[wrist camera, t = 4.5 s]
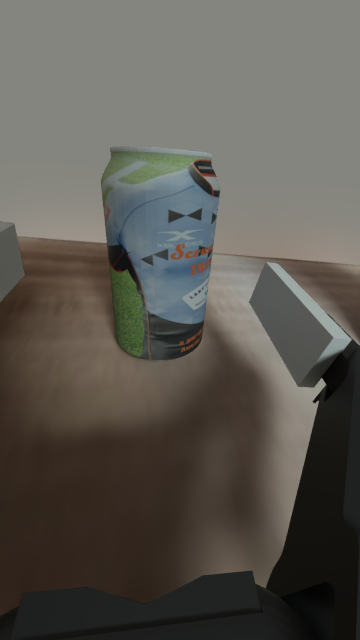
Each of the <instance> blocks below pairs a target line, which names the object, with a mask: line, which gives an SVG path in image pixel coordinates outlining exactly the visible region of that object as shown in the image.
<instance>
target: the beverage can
mask: <svg viewBox="0 0 360 640" xmlns="http://www.w3.org/2000/svg"><path fill="white" fill-rule="evenodd" d="M110 152H111V159H110V162H109V163H108V165H107V167H106V169H105V171H104V173H103V176H102V179H101V187H102V197H103V206H104V216H105V227H106V237H107V247H108V257H109V267H110V277H111V287H112V297H113V307H114V317H115V327H116V337H117V341H118V343H119V345H120V346H121V347H122V348H123V349H124V350H125V351H127V352H128V353H130V354H132V355H134V356H136V357H139V358H143V359H147V360H152V361H167V360H172V359H176V358H179V357H182V356H185V355H187V354H189V353H190V352H192V351H193V350H194V349H196V348H197V347H198V345H199V344H200V342H201V339H202V332H203V324H204V316H205V308H206V300H207V292H208V284H209V275H210V267H211V259H212V251H213V243H214V235H215V226H216V218H217V211H218V202H219V194H220V185H219V182H218V179H217V177H216V174H215V172H214V170H213V168H212V165H211V159H212V155H211V154H209V153H204V152H198V151H189V150H180V149H166V148H153V147H124V146H120V147H111V148H110Z"/></svg>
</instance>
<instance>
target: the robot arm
mask: <svg viewBox="0 0 360 640" xmlns="http://www.w3.org/2000/svg"><path fill="white" fill-rule="evenodd" d="M24 276H25V274H24V269H23V264H22V259H21V254H20V249H19V244H18V239H17V234H16V230H15V225H14V223H9V222H2V221H0V302H1V301H2V300H3V299H4V298H5V296H6V295H7V294H8V293H9V292H10V291H11V290H12V289H13V288H14V287H15V285H16V284H17V283H18V282H19V281H20V280H21V279H22V278H23V277H24ZM249 303H250V304H251V306H252V308H253V310H254V311H255V313H256V315H257V316H258V318H259V320H260V322H261V323H262V325H263V327H264V329H265V330H266V332H267V334H268V335H269V337H270V339H271V341H272V342H273V344H274V346H275V348H276V349H277V351H278V353H279V355H280V356H281V358H282V360H283V361H284V363H285V365H286V367H287V368H288V370H289V372H290V374H291V375H292V377H293V379H294V380H295V382H296V384H297V386H298V387H315V385H316V384H317V383H318V382H319V380H320V379H321V378H322V379H323V380H324V382H325V383H326V384H327V385H326V386H325V387H324V388H323V389H322V391H321V392H320V393H319V394H318V395H317V397H316V398H315V399H314V400H313V402H314V403H316V402H317V401H319V404H318V408H317V412H316V416H315V420H314V425H313V429H312V433H311V437H310V441H309V445H308V450H307V454H306V458H305V462H304V466H303V470H302V475H301V479H300V483H299V487H298V491H297V495H296V499H295V504H294V508H293V512H292V516H291V520H290V524H289V529H288V533H287V537H286V541H285V545H284V549H283V552H282V554H281V557H280V559H279V560H278V562H277V563H276V565H275V567H274V568H273V570H272V573H271V575H270V577H269V580H268V583H267V586H266V589H265V588H263V587H261V586H259V585H257V584H255V581H254V577H253V572H252V571H245V572H234V573H224V574H214V575H204V576H201V577H199V578H197V579H195V580H194V581H192V582H190V583H188V584H186V585H184V586H182V587H180V588H178V589H176V590H174V591H172V592H170V593H169V594H167V595H165V596H163V597H161V598H159V599H157V600H155V601H153V602H151V603H140V602H136V601H133V600H129V599H126V598H122V597H119V596H116V595H112V594H109V593H105V592H102V591H98V590H95V589H92V588H88V587H82V588H72V589H61V590H51V591H41V592H31V593H23V595H22V599H21V602H20V606H19V607H17V608H15V609H13V610H11V611H9V612H7V613H6V614H4V615H2V616H1V617H0V640H360V346H359V345H358V344H357V343H356V342H355V341H354V340H353V339H352V338H351V337H350V336H349V335H348V334H347V333H346V332H345V331H344V330H343V329H342V328H341V327H340V326H339V325H338V324H337V323H336V322H335V320H334V319H333V318H332V317H331V316H330V315H329V314H327V313H326V312H324V311H323V309H322V308H321V307H320V306H319V305H318V304H317V303H316V302H315V301H314V300H313V299H312V298H311V297H310V296H309V295H308V294H307V293H306V292H305V291H304V290H303V289H302V288H301V287H300V286H299V285H298V284H297V283H296V282H295V281H294V280H293V279H292V278H291V277H290V276H289V275H288V274H287V273H286V271H285V270H284V269H283V268H282V267H281V266H280V265H279V264H277V263H270V262H266V263H265V265H264V268H263V270H262V272H261V275H260V277H259V280H258V282H257V284H256V287H255V289H254V291H253V294H252V296H251V299H250V301H249Z"/></svg>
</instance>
